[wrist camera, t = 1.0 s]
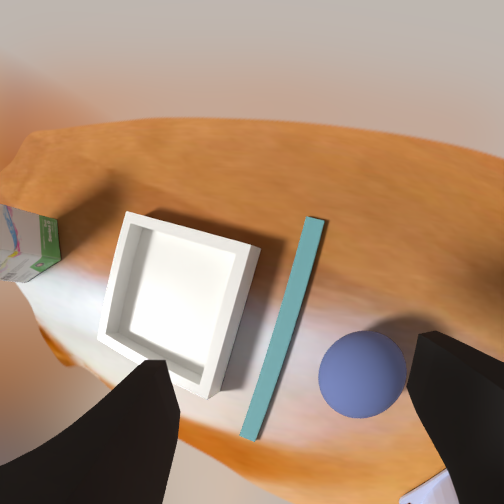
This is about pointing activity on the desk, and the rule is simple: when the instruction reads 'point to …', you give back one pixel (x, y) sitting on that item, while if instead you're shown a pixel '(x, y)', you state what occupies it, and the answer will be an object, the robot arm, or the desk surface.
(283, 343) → the teal line
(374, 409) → the ball
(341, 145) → the desk surface
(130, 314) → the tray
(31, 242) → the ink box
